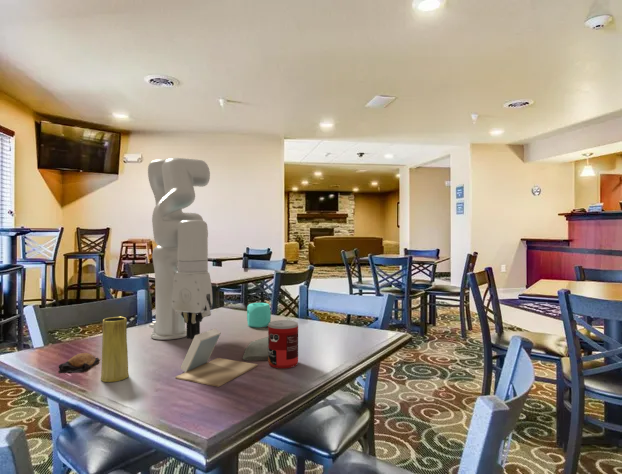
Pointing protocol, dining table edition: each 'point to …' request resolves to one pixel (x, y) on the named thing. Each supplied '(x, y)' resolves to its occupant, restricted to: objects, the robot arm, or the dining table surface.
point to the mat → (217, 372)
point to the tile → (200, 349)
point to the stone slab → (257, 350)
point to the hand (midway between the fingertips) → (193, 337)
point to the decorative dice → (258, 315)
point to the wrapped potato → (79, 363)
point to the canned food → (283, 344)
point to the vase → (114, 350)
